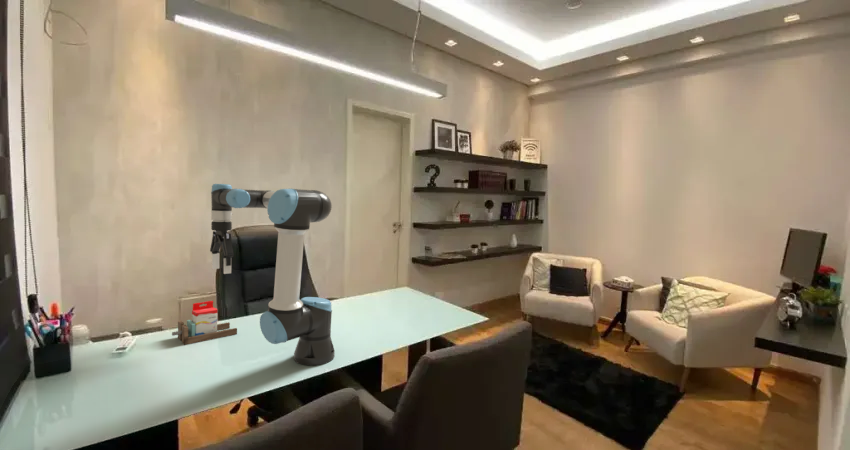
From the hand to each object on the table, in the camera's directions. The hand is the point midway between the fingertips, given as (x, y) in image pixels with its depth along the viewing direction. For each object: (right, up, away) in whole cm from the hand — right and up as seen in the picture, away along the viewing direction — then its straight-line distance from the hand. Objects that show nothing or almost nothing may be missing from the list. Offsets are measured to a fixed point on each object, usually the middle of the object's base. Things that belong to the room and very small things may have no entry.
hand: (221, 271), depth 161 cm
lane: (-7, -28, +3) cm, 29 cm away
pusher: (-14, -28, -4) cm, 32 cm away
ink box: (-8, -28, +2) cm, 30 cm away
